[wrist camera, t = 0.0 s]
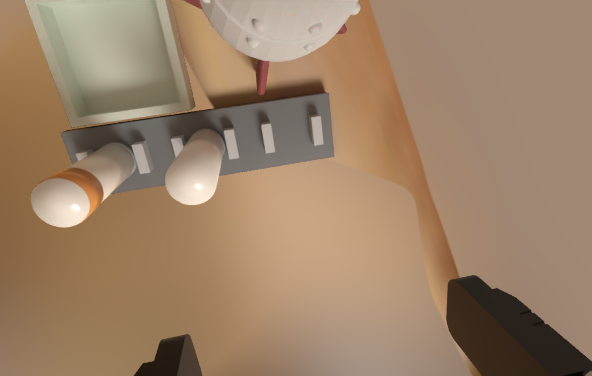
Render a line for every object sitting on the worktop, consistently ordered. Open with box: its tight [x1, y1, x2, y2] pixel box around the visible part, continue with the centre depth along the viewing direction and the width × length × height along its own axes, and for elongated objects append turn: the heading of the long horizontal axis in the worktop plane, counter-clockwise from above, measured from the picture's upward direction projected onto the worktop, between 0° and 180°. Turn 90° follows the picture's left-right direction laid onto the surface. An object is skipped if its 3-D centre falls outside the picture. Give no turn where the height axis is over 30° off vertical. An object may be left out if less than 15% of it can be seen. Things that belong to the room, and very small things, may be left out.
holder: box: [61, 92, 334, 194], centre depth 35 cm, size 7×27×3 cm, turn 97°
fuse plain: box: [165, 128, 225, 205], centre depth 30 cm, size 4×4×12 cm
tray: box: [24, 0, 195, 127], centre depth 31 cm, size 11×11×3 cm
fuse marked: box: [31, 142, 138, 227], centre depth 29 cm, size 4×4×12 cm
